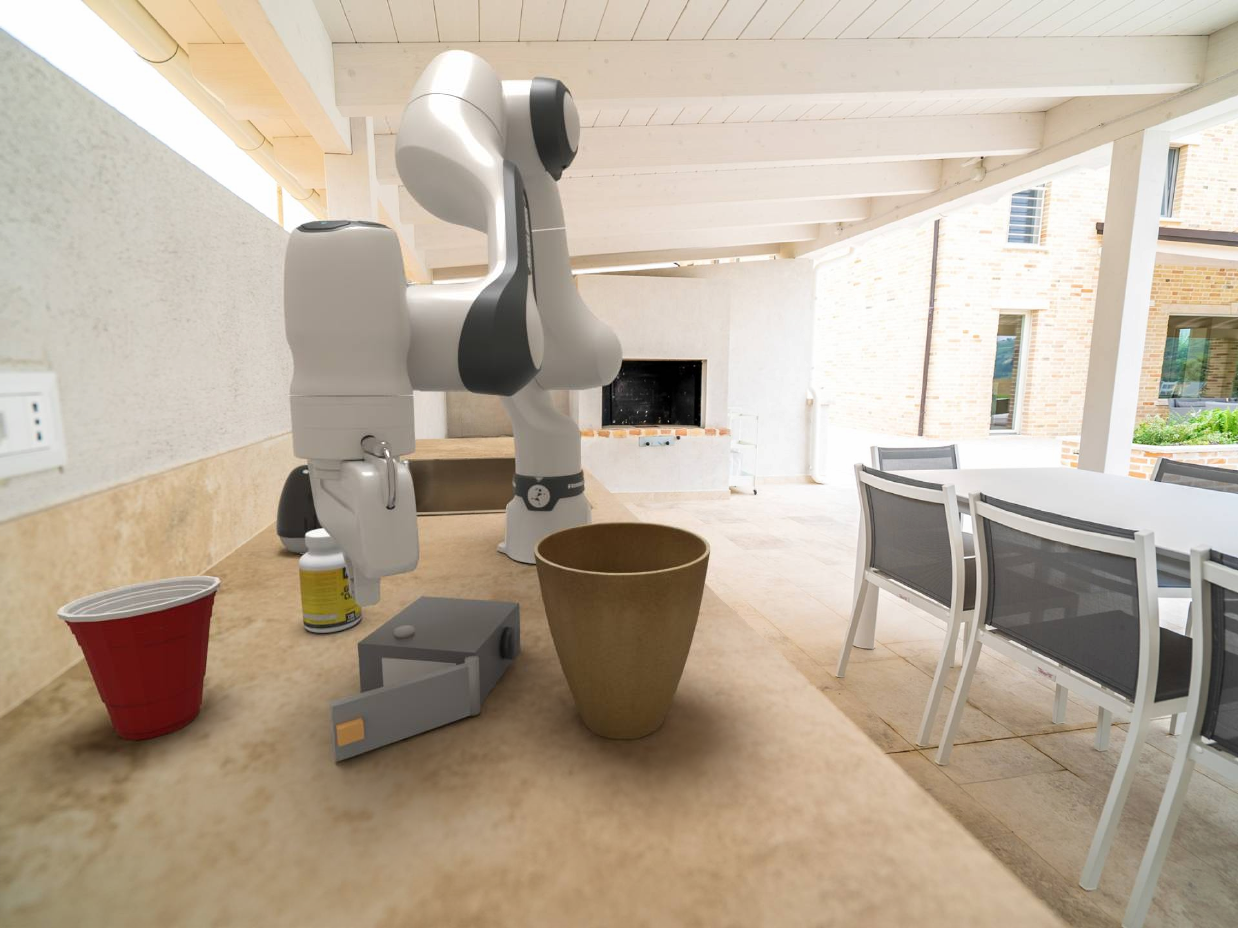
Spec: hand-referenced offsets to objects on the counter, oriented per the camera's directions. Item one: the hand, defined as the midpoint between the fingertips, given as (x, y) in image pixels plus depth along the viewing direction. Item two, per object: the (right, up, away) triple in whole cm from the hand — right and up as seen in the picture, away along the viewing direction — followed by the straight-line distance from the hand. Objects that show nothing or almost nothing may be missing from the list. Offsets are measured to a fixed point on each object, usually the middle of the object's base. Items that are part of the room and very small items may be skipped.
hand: (364, 600), depth 48 cm
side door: (+4, -11, +1) cm, 12 cm away
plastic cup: (-20, -12, +3) cm, 23 cm away
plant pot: (+21, -11, +4) cm, 24 cm away
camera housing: (+3, -10, +12) cm, 16 cm away
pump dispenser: (-33, -4, +55) cm, 64 cm away
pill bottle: (-14, -9, +24) cm, 29 cm away
